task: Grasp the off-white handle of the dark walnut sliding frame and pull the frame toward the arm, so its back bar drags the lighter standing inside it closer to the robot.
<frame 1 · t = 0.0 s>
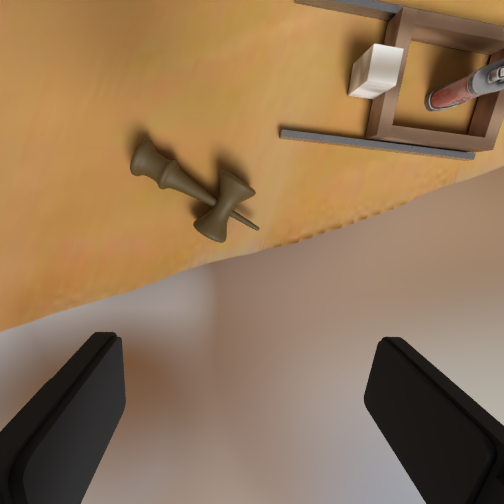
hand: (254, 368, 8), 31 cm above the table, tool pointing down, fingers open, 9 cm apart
sliding frame: (436, 84, 33), point 3 cm above the table, slide at 0.0 cm
guide rails: (390, 87, 35), on the table
kendama: (204, 194, 37), on the table
lighter: (447, 97, 36), resting in sliding frame
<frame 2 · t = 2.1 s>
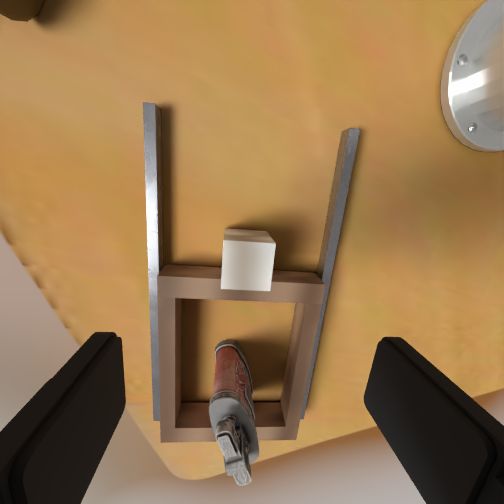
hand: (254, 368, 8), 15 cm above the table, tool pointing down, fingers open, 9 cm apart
sliding frame: (238, 349, 23), point 3 cm above the table, slide at 0.0 cm
guide rails: (240, 290, 24), on the table
lighter: (234, 366, 27), resting in sliding frame
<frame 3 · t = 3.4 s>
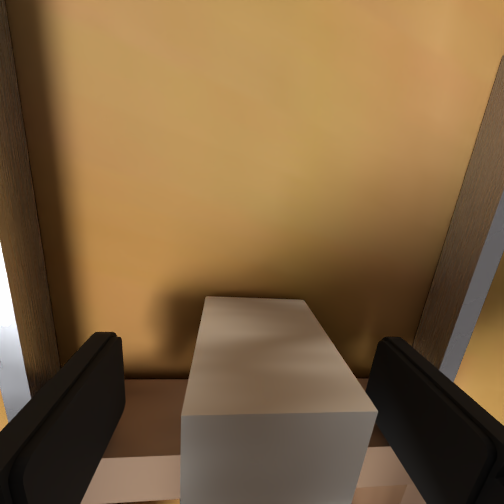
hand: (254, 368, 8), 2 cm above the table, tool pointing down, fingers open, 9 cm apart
guide rails: (243, 416, 11), on the table
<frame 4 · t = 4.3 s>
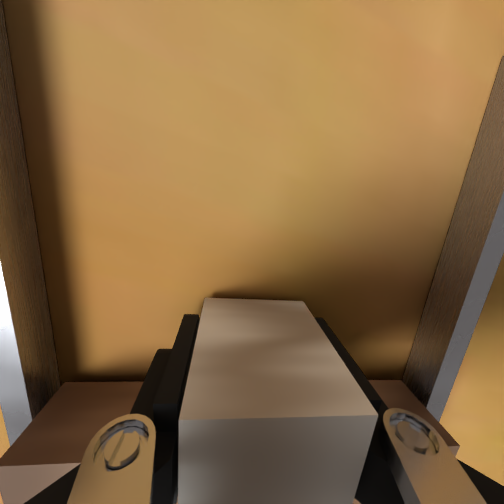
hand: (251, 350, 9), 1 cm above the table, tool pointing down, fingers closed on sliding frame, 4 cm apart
guide rails: (242, 417, 11), on the table
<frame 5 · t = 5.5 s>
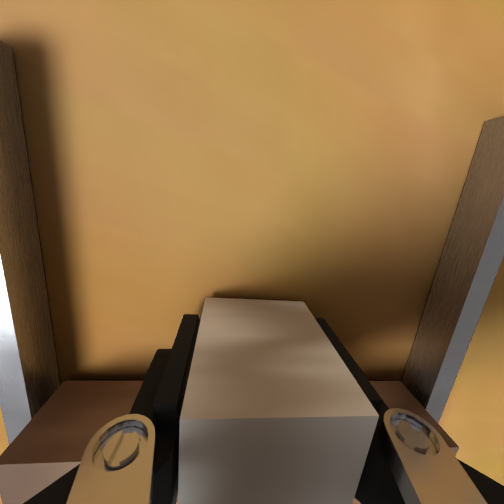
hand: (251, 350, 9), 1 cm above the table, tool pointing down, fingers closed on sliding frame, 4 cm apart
guide rails: (238, 448, 12), on the table
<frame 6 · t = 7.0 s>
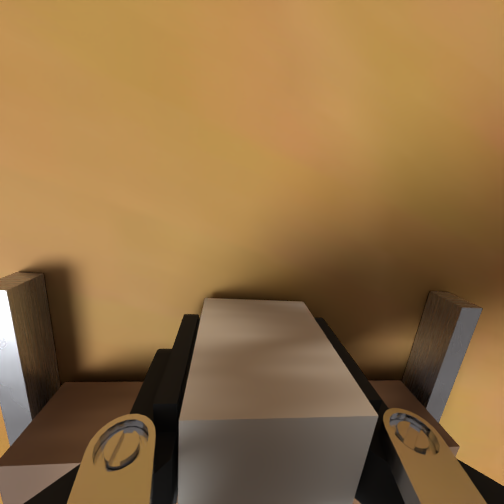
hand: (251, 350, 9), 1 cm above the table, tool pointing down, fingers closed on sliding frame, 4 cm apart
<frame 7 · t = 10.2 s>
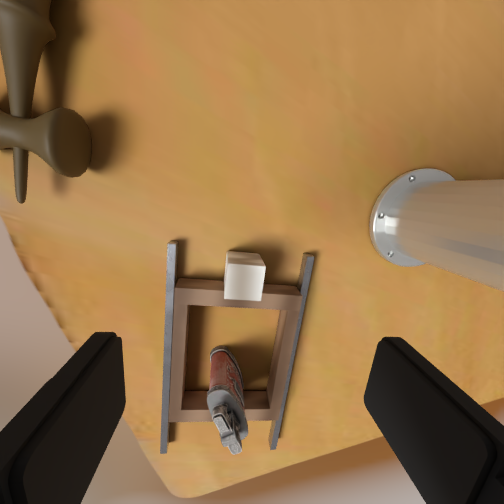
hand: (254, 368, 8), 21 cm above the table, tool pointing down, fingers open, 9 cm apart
sliding frame: (234, 345, 29), point 3 cm above the table, slide at 9.0 cm
guide rails: (230, 356, 33), on the table
kendama: (45, 101, 23), on the table
lighter: (227, 367, 34), resting in sliding frame
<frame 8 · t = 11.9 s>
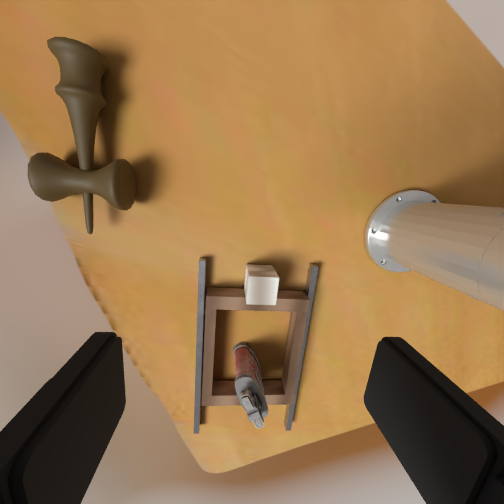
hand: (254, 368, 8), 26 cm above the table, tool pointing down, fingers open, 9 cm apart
sliding frame: (254, 341, 36), point 3 cm above the table, slide at 9.0 cm
guide rails: (250, 350, 39), on the table
kendama: (99, 152, 30), on the table
lighter: (247, 360, 40), resting in sliding frame
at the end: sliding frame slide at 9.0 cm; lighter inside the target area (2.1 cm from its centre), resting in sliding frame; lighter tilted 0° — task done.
